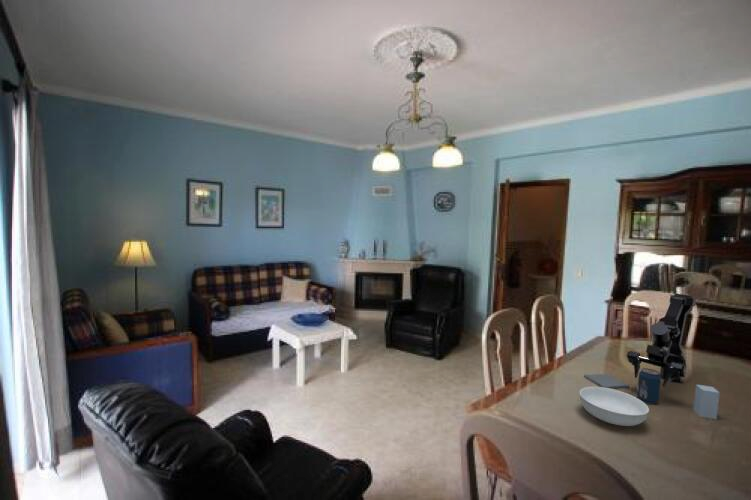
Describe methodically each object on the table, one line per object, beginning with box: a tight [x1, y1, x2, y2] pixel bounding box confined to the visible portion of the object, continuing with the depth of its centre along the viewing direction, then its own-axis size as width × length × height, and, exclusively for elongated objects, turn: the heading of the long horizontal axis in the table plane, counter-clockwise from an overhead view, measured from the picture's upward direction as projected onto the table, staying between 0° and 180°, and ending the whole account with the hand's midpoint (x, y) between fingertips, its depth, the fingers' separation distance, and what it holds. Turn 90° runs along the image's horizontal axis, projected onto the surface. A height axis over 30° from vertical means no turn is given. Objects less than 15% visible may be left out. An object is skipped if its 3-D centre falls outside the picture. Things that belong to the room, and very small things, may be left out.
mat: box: [583, 373, 630, 390], centre depth 164 cm, size 12×12×1 cm
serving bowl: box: [579, 386, 650, 427], centre depth 134 cm, size 21×21×7 cm
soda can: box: [636, 367, 662, 405], centre depth 148 cm, size 7×7×12 cm
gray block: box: [692, 384, 720, 420], centre depth 138 cm, size 5×5×10 cm
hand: (649, 381), depth 147 cm, fingers open, 9 cm apart
